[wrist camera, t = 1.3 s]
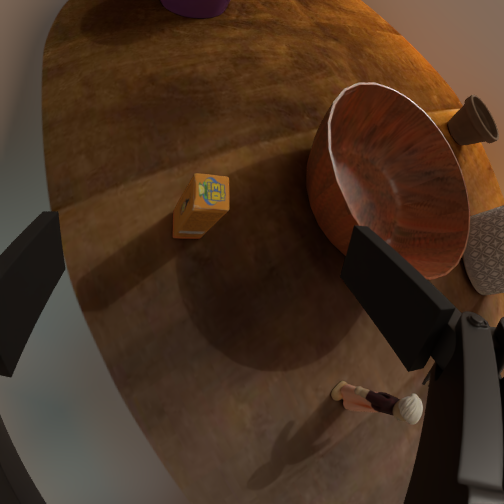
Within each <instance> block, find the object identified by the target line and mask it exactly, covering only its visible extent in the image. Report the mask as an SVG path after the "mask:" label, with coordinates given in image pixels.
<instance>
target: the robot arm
mask: <svg viewBox="0 0 504 504" xmlns="http://www.w3.org/2000/svg"><path fill="white" fill-rule="evenodd" d="M64 271H65V263H64V256H63V249H62V241H61V233H60V224H59V214H58V212H42V213H41V214H40V215H39V216H38V217H37V218H36V219H35V220H34V221H33V222H32V223H31V224H30V225H29V226H28V227H27V228H26V229H25V230H24V231H23V232H22V233H21V234H20V235H19V236H18V237H17V238H16V239H15V240H14V241H13V242H12V243H11V244H10V245H9V247H7V249H6V250H5V251H4V252H3V253H2V254H1V255H0V375H2V376H6V377H12V374H13V372H14V370H15V368H16V365H17V363H18V361H19V358H20V356H21V354H22V352H23V349H24V347H25V345H26V343H27V341H28V338H29V337H30V334H31V332H32V330H33V328H34V326H35V324H36V322H37V320H38V318H39V316H40V314H41V312H42V310H43V309H44V307H45V305H46V303H47V301H48V299H49V297H50V295H51V294H52V291H53V289H54V288H55V286H56V285H57V283H58V281H59V279H60V277H61V276H62V274H63V272H64ZM340 277H341V278H342V280H343V281H344V282H345V284H346V285H347V286H348V288H349V289H350V290H351V292H352V293H353V294H354V296H355V297H356V299H357V300H358V301H359V303H360V304H361V305H362V307H363V308H364V309H365V311H366V312H367V314H368V315H369V316H370V318H371V319H372V320H373V322H374V323H375V325H376V326H377V327H378V329H379V330H380V332H381V333H382V334H383V336H384V337H385V339H386V340H387V342H388V343H389V344H390V346H391V347H392V349H393V350H394V352H395V353H396V354H397V356H398V357H399V359H400V360H401V362H402V363H403V365H404V366H405V368H406V369H407V371H408V372H409V371H414V370H418V369H422V368H424V366H425V365H426V363H427V361H428V359H429V358H430V356H431V357H432V358H433V359H434V360H435V363H434V365H433V366H432V368H431V370H430V371H429V373H428V374H427V376H426V378H425V379H424V381H423V383H422V384H423V385H425V383H426V382H427V381H428V380H430V382H429V385H428V386H429V389H428V397H427V403H426V410H425V416H424V421H423V427H422V432H421V437H420V442H419V447H418V451H417V456H416V460H415V464H414V468H413V472H412V476H411V480H410V483H409V487H408V490H407V494H406V497H405V500H404V504H504V377H503V378H502V377H501V375H500V373H501V372H502V370H503V369H504V317H503V318H501V319H500V321H499V323H498V325H497V327H490V326H489V324H488V323H487V321H486V320H485V319H484V318H482V317H481V316H480V315H478V314H476V313H473V312H469V311H467V312H463V313H461V312H460V311H459V310H458V309H457V308H456V307H455V306H454V305H453V304H452V303H451V302H450V301H449V300H448V299H447V298H446V297H445V296H444V295H443V294H442V293H441V292H440V291H439V290H437V288H436V287H435V286H434V285H432V284H431V283H430V282H429V281H428V280H427V279H426V278H425V277H424V276H423V275H422V274H421V273H420V272H418V271H417V270H416V269H415V268H414V267H413V266H412V265H411V264H410V263H409V262H408V261H407V260H405V259H404V258H403V257H402V256H401V255H400V254H399V253H398V252H397V251H395V250H394V249H393V248H392V247H391V246H390V245H389V244H387V243H386V242H385V241H384V240H383V239H382V238H381V237H379V236H378V235H377V234H376V233H375V232H374V231H372V230H371V229H370V228H369V227H368V226H358V225H354V227H353V231H352V235H351V239H350V243H349V246H348V250H347V254H346V257H345V261H344V264H343V268H342V271H341V275H340ZM0 504H46V502H45V501H44V499H43V498H42V496H41V494H40V493H39V491H38V489H37V488H36V486H35V484H34V483H33V481H32V479H31V477H30V476H29V474H28V472H27V470H26V469H25V466H24V465H23V463H22V461H21V459H20V457H19V455H18V453H17V451H16V449H15V447H14V445H13V443H12V441H11V439H10V436H9V434H8V432H7V430H6V427H5V425H4V423H3V420H2V418H1V416H0Z"/></svg>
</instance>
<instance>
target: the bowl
mask: <svg viewBox="0 0 504 504" xmlns="http://www.w3.org/2000/svg"><path fill="white" fill-rule="evenodd" d="M306 188H307V193H308V197H309V202H310V207H311V209H312V212H313V214H314V216H315V219H316V221H317V223H318V225H319V227H320V228H321V230H322V231H323V233H324V234H325V235H326V237H327V238H328V240H329V241H330V242H331V243H332V244H333V245H334V246H335V247H336V248H337V249H338V250H339V251H340V252H341V253H343V254H344V255H345V256H346V254H347V250H348V246H349V243H350V239H351V235H352V231H353V227H354V225H358V226H368V227H369V228H370V229H371V230H372V231H374V232H375V233H376V234H377V235H378V236H379V237H381V238H382V239H383V240H384V241H385V242H386V243H387V244H389V245H390V246H391V247H392V248H393V249H394V250H395V251H397V252H398V253H399V254H400V255H401V256H402V257H403V258H404V259H405V260H407V261H408V262H409V263H410V264H411V265H412V266H413V267H414V268H415V269H416V270H417V271H418V272H420V273H421V274H422V275H423V276H424V277H425V278H426V279H427V280H432V279H435V278H439V277H442V276H445V275H447V274H448V273H449V272H450V271H451V270H452V269H454V268H455V267H456V266H457V265H458V263H459V261H460V259H461V257H462V255H463V253H464V251H465V249H466V245H467V241H468V236H469V231H470V207H469V200H468V194H467V188H466V185H465V181H464V178H463V175H462V172H461V168H460V166H459V164H458V162H457V159H456V157H455V155H454V153H453V151H452V149H451V147H450V145H449V143H448V142H447V140H446V139H445V137H444V136H443V134H442V132H441V131H440V129H439V128H438V127H437V126H436V124H435V123H434V122H433V121H432V120H431V118H430V117H429V116H428V115H427V114H426V113H425V112H424V111H423V110H422V109H421V108H420V107H419V106H418V105H416V104H415V103H414V102H413V101H412V100H410V99H409V98H408V97H406V96H404V95H403V94H401V93H399V92H398V91H396V90H394V89H392V88H390V87H387V86H384V85H380V84H377V83H357V84H354V85H352V86H350V87H347V88H345V89H344V90H343V91H342V92H341V93H340V95H339V96H338V97H337V98H336V100H335V101H334V102H333V103H332V105H331V107H330V108H329V110H328V111H327V113H326V115H325V116H324V118H323V120H322V122H321V124H320V126H319V128H318V130H317V133H316V136H315V138H314V142H313V145H312V148H311V151H310V154H309V158H308V162H307V181H306Z"/></svg>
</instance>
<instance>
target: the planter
mask: <svg viewBox="0 0 504 504" xmlns="http://www.w3.org/2000/svg"><path fill="white" fill-rule="evenodd" d="M462 256H463V262H464V266H465V270H466V272H467V275H468V277H469V279H470V281H471V283H472V285H473V287H474V288H475V289H476V291H477V292H478V293H480V294H482V295H490V294H497V293H504V205H503V206H500V207H497V208H494V209H491V210H488V211H485V212H482V213H479V214H476V215H473V216H470V231H469V236H468V241H467V245H466V249H465V251H464V253H463V255H462Z"/></svg>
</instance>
